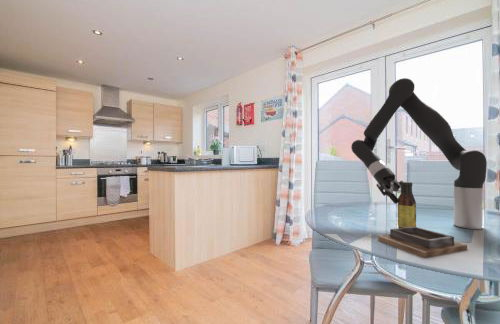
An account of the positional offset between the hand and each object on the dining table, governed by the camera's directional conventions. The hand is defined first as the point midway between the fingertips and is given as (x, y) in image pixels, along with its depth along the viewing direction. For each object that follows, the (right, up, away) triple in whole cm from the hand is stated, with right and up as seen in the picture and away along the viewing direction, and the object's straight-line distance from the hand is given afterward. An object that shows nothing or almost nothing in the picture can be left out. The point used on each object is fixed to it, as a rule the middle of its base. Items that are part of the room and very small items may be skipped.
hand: (405, 202), depth 97 cm
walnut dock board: (-6, -12, -17) cm, 21 cm away
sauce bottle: (0, -12, -1) cm, 12 cm away
